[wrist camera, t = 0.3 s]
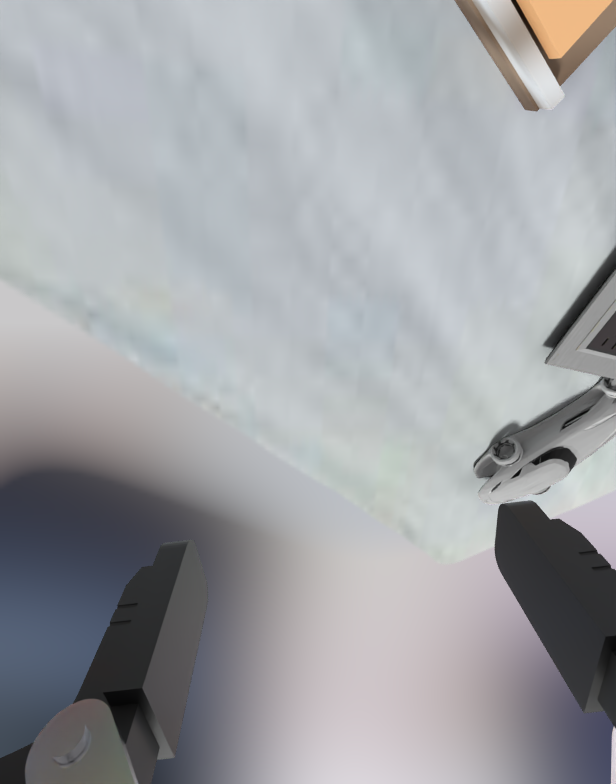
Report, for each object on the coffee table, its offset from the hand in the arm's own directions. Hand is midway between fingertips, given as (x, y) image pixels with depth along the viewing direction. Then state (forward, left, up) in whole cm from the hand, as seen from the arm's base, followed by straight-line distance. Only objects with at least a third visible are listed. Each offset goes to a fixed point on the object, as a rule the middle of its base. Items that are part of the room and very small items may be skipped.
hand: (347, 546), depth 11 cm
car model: (+45, +1, -29) cm, 54 cm away
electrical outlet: (+33, +15, -29) cm, 47 cm away
